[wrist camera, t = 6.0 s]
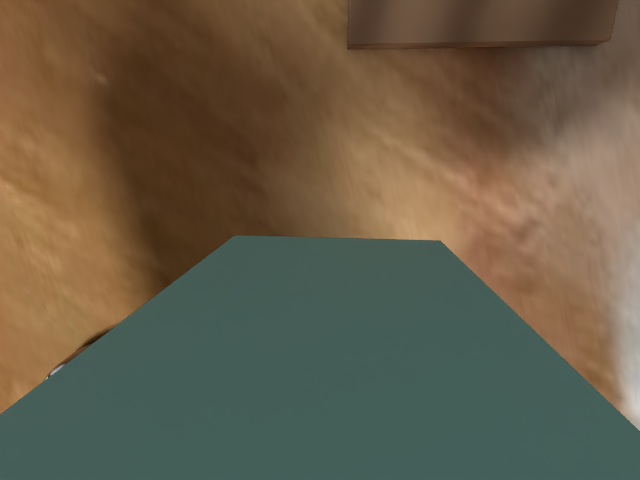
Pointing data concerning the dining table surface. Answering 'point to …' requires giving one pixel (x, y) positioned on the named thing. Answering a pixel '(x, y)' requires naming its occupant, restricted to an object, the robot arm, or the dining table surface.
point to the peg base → (478, 23)
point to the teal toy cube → (319, 379)
